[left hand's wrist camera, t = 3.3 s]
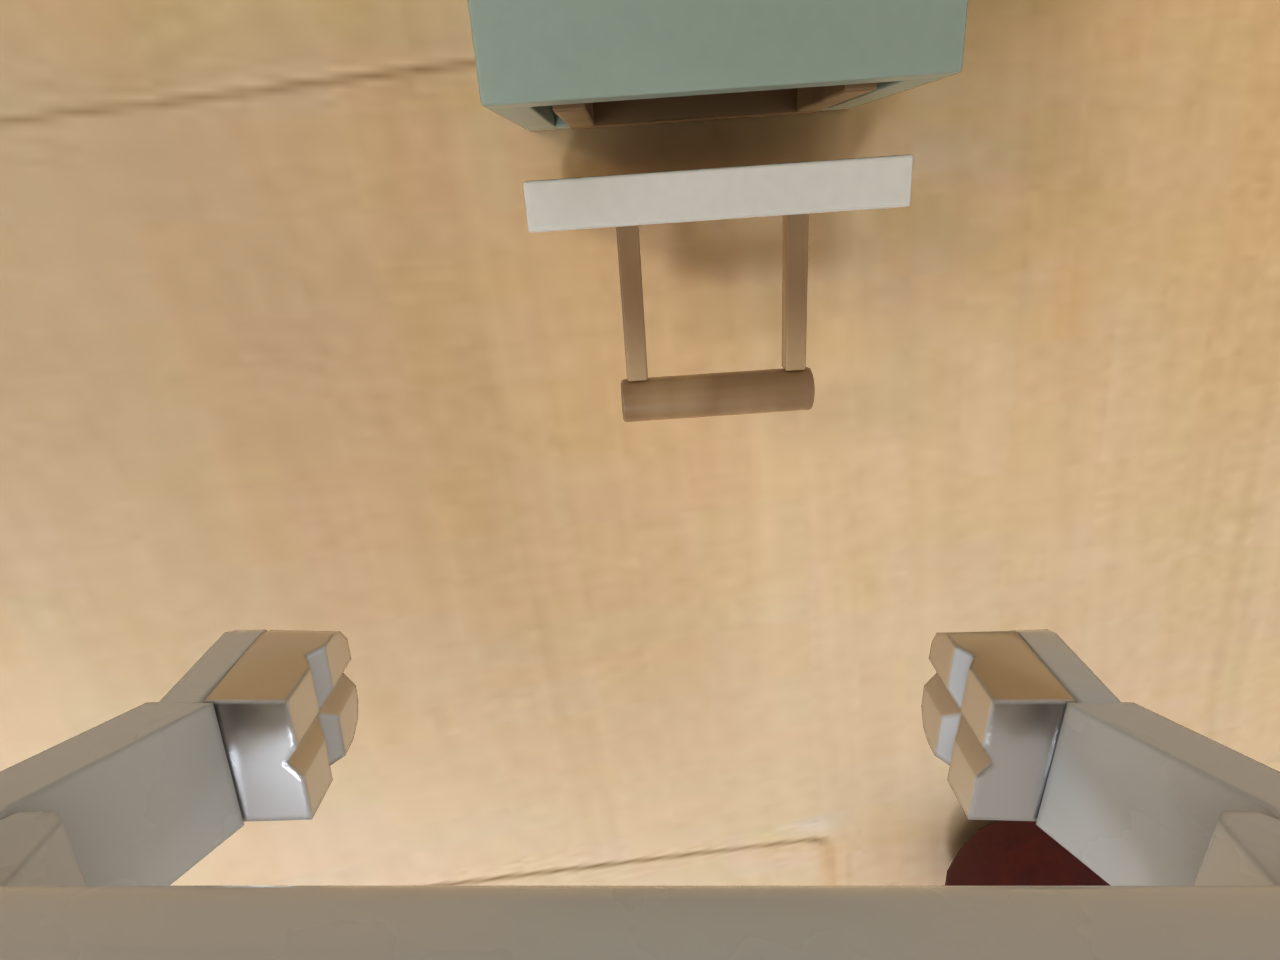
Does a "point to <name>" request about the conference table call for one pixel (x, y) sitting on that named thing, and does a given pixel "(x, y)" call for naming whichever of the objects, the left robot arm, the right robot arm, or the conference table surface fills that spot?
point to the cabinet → (703, 49)
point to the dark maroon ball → (1017, 859)
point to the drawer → (716, 199)
